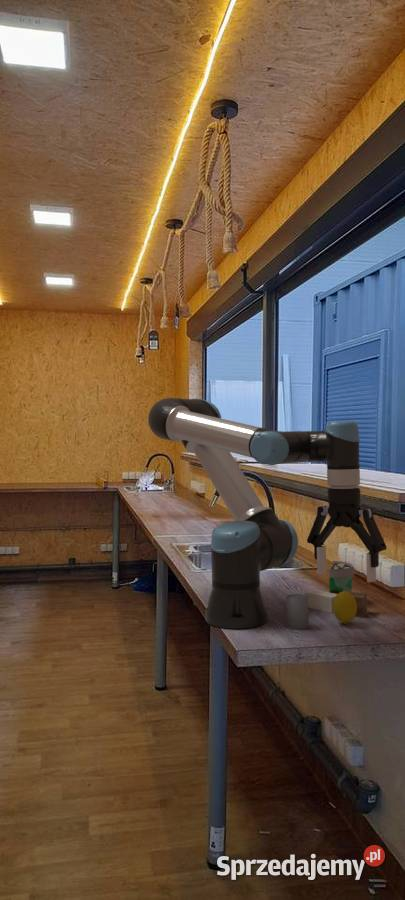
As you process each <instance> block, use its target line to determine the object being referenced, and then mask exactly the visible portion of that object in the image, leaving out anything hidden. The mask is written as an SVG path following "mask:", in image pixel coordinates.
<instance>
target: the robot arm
mask: <svg viewBox="0 0 405 900" xmlns="http://www.w3.org/2000/svg"><path fill="white" fill-rule="evenodd" d="M147 421H148V425H149V429H150V430H151V432H152V434H153V435H155V436H156V437H158V438H160V439H162V440H167V441H171V442H176V443H179V442H181V443H182V445H183V446H184V448H185V451H186V452H187V453H190V454H194V455H195V456H196V458H197V460H198V461H199V463H200V464H201V467H202V469H203V470H204V472H205V473H206V475H207V476H208V478H209V480H210V482H211V483H212V485H213V487H214V488H215V491H217V493H218V495H219V496H220V498H221V499H222V502H223V503H224V505H225V507H226V508H227V510H228V511H229V513H230V515H231V517H232V518H233V520H234V521H229V522H228V521H227V522H224V523H221V524H219V525H216V526H215V527H214V528H213V529H212V533H211V541H210V550H211V551H210V553H211V583H212V584H211V592H210V594H209V598H208V603H207V607H206V608H205V612H204V613H205V622H206V624H207V623H208V624H209V625H211V626H214V627H217V628H222V629H237V630H238V629H239V630H240V629H250V628H256V627H259V626H262V625H265V624H267V622H268V619H269V618H268V617H269V615H268V613H269V612H268V609H267V607H266V605H265V601H264V597H263V594H262V591H261V582H260V581H261V580H260V579H261V578H260V577H261V572H262V571H266V570H271V569H274V568H278V567H279V568H280V567H282V566H283V565H285V564H287V563H289V562H291V561H292V559H293V558H294V557H295V556H296V554H297V551H298V545H299V538H298V537H299V536H298V534H297V531H296V529H295V527H294V526H293V525H292V524H291V523H290V522H289V521H287V520H285V519H279V517H278V516H277V515H278V514H276V512H275V510H274V509H273V508H272V507H268V506H264V504H263V503H262V501H261V499H260V497H259V496H258V495H257V493H256V492H255V490H254V488H253V487H252V485H251V484H250V482H249V480H248V479H247V477H246V475H245V474H244V472H243V471H242V469H241V467H240V466H239V464H238V462H237V461H236V459H235V458H234V455H232V453H233V454H237V455H240V456H244V457H248V458H252V459H254V460H255V461H256V462H257V463H259V464H261V465H269V466H276V465H282V464H294V463H295V464H298V463H312V462H313V463H315V462H316V463H317V462H319V463H320V462H323V463H325V462H326V476H327V478H326V480H327V482H326V485H327V486H328V487H329V488H328V489H327V503H328V504H329V505H328V506H327V505H321V506H317V509H316V517H315V519H314V521H313V524H312V526H311V529H310V532H309V534H308V537H307V540H306V542H307V544H311V545H312V546H313V547H314V559H315V561H316V568H317V569H316V571H317V572H316V574H317V575H323V574H327V548H326V547H327V546H326V545H325V542H326V540H327V539H328V538H329V537H330V536H331V534H332V533H333V532H334V530H335V528H336V527H344V528H351V530H353V531H354V532H355V533H356V535H357V536H358V538H359V539H360V541H361V543H362V544H364V546H365V548H366V549H367V551H368V552H366V553H365V555H366V556H365V559H366V560H365V561H366V563H365V564H366V583H373V582H376V581H377V567H379V566H380V559H379V558H380V556H379V555H380V552H382V551H386V550H387V549H388V547H387V545H386V543H385V540H384V538H383V535H382V533H381V531H380V528H379V527H378V525H377V523H376V521H375V518H374V510H373V509H372V508H366V509H362V508H361V506H360V505H361V502H362V501H361V499H362V498H361V489H360V487H358V486H361V474H360V473H361V472H360V470H361V469H360V441H361V439H360V433H359V425H358V423H357V422H356V421H345V420H342V421H328V422H327V423H326V424H325V430H307V431H305V430H303V431H301V430H297V431H296V430H294V431H292V430H291V431H287V430H286V431H281V430H273V429H270V428H264V427H260V426H255V425H251V424H246V423H242V422H238V421H234V420H229V419H225V418H222V415H221V412H220V410H219V408H218V407H217V406H216V405H215V404H214V403H212V402H211V401H209V400H206V399H202V398H192V399H191V398H180V397H179V398H178V397H177V398H175V397H167V398H163V399H160V400H159V401H156V402H155V404H153V406H152V407H151V408H150V410H149V413H148V417H147ZM327 516H329V517H330V518H329V519H328V521H327V522H326V523H325V521H326V519H327ZM361 518H362V519H363V522H364V524H365V527H366V528H365V527H364V524H363V522H362V520H361ZM324 524H326V525H325V526H324ZM323 526H324V528H323ZM322 528H323V529H322Z"/></svg>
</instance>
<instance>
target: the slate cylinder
mask: <svg viewBox="0 0 405 900" xmlns="http://www.w3.org/2000/svg"><path fill="white" fill-rule="evenodd" d="M285 600H286V627H287V628H288V629H291V630H300V631H301V630H307V629H308V628H309V627H310V626H309V621H310V620H309V608H308V596H306V594H302V593H292V594H288V595H286V599H285Z"/></svg>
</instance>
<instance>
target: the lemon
mask: <svg viewBox="0 0 405 900" xmlns="http://www.w3.org/2000/svg"><path fill="white" fill-rule="evenodd" d="M356 612H357V604H356V600H355V598H354V596H353V595H352V594H350V593H348V592H347V591H345V590H344V591H343V592H340V593H338V594H337V595H336V597H335V598H334V602H333V612H332V613H333V614H334V616H335V619H337V620H338V621H340V622H341V623H342V624H343V625H347V624H348V623H349V622H351V621H353V620H354V618H356V617H355V616H356Z"/></svg>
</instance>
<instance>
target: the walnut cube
mask: <svg viewBox="0 0 405 900" xmlns="http://www.w3.org/2000/svg"><path fill="white" fill-rule="evenodd" d="M347 592H348V593H350V594H352V595H353V596H354V598H355V600H356V604H357V612H356V616H355V617H354V618H361V619H362V618H364V617H366V615H367V614H368V592H361V591H360V592H359V591H352V590H351V591H347Z"/></svg>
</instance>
